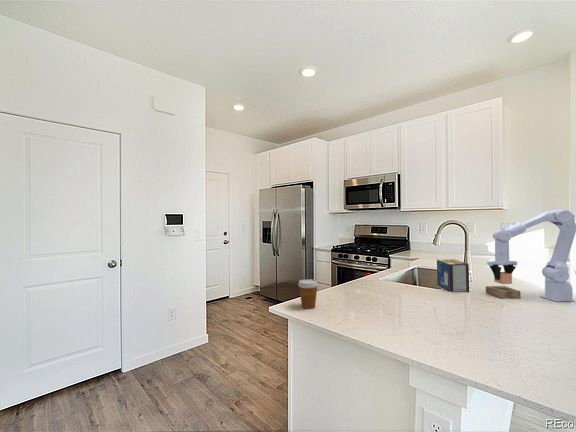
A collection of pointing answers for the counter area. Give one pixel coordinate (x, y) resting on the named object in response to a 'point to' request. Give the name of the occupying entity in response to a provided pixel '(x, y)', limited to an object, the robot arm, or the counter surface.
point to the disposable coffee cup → (308, 293)
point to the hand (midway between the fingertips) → (502, 279)
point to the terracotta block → (504, 278)
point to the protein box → (453, 275)
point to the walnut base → (503, 292)
